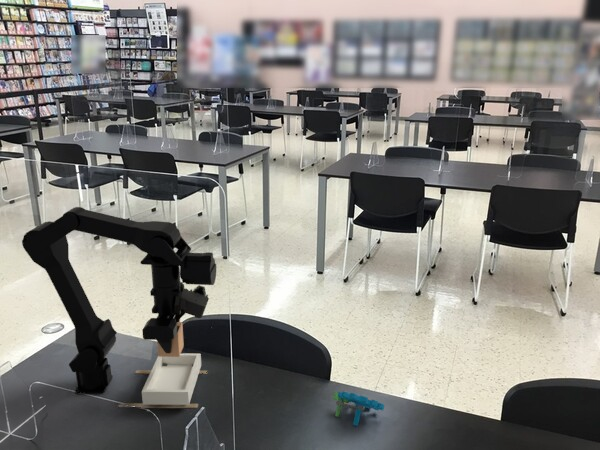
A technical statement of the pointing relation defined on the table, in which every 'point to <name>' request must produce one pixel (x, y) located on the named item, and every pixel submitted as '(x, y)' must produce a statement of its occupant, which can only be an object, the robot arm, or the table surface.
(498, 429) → the table surface
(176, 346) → the part block
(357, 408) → the toy construction assembly
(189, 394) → the white open storage bin
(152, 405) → the track
